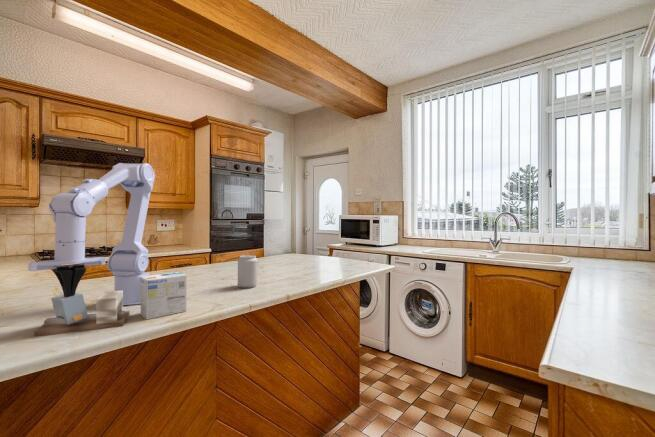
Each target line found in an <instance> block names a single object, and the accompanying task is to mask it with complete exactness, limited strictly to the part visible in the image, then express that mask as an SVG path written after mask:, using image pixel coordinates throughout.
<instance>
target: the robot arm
mask: <svg viewBox="0 0 655 437" xmlns="http://www.w3.org/2000/svg"><path fill="white" fill-rule="evenodd" d="M155 177H156V173H155V170H154V169H153V167H152V165H151V164H150V163H148V162H147V163H146V162H145V163H124V162H123V163H122V162H119V163H118V162H117V163H116V164H114V165H113V166H112V168H111V170H110V171H108V172H107V173H105V174H104V175H103V176H101V177H99V179H96V178H86V179H84V180H83V183H82V184H80V185H77V186H75V187H71V188H70V189H69V191H67V192H66V193H64V192H61V193H58V194H55V196H53V197H52V199H51V200H50V202H49V203H48V208H49V211H50V212H51V214H52V220H53V222H54V224H55V228H54V229H55V230H54V259H50V260H49V259H48V260H41V261H40V260H39V261H29V262H28V271H29V272H37V271H43V270H44V271H46V270H47V271H48V270H52V271H53V273H54V275H55V276H56V278H57V280H58V282H59V284H60V286H61V290H62V294H64V297H70V296H74V295H75V293H77V292H76V291H77V288H78V285H79V284H80V282H81V279H82V278H83V276H85V273H86V271H87V267H89V266H90V267H91V266H103V265H107V268H108V270H109V272H111V275H112V276H114V291H122V290H123V306H131V305H132V306H133V305H141V298H140V277H141V276H150V273H148V272H146V273H145V271H146V270H147V269H148V267H149V262H150V261H149V249H148V248H147V247H145V246H144V245H143V244H142V242H143V240H142V239H143V237H144V236H143V235H144V230H145V225H146V220H147V214H148V210H149V209H148V208H149V202H150V199H151V198H150V197H151V194H152V193H151V192H152V191H153V188H154V184H155V179H156V178H155ZM119 184H120V186H121V187H122V188H123V189H124V191H126V192H128V193H129V194H130V199H129V203H128V208H127V214H126V218H125V223H124V228H123V233H122V237H121V238H122V239H121V242H120V243H118V244H117V245H115V246H114V247H112V251H111V254H110V255H109V257H108V259H107V258H106V256H105V257H104V256H97V257H95V256H94V257H86V230H87V229H86V225H87V224H86V222H87V221H86V220H87V216H89V215H90V214H91V213H92V211H93V208H94V207H95V205H96V204H98V202H100V201H102V200H103V199H104V198H106V197H107V196H108V194H109V190H111V189H112V188H114V187H116V186H118V185H119ZM106 259H107V260H106ZM106 261H107V264H106Z"/></svg>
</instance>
